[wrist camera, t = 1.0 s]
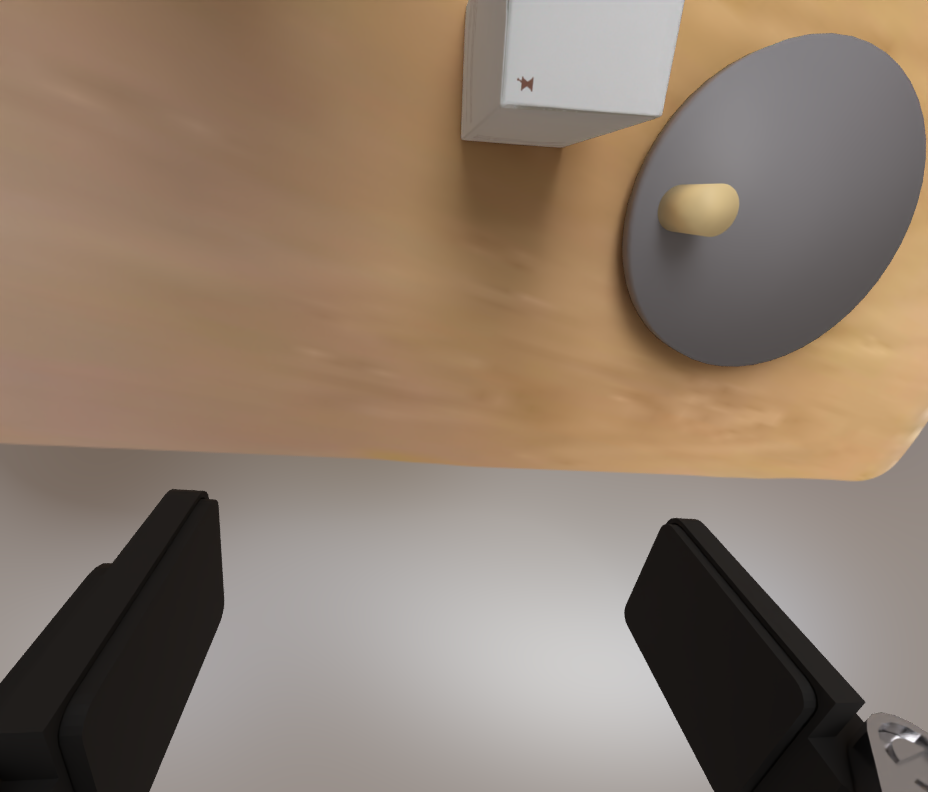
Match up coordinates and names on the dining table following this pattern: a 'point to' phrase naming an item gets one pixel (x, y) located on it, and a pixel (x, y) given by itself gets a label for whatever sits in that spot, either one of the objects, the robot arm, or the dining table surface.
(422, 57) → the dining table surface
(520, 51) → the supplement box
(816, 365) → the dining table surface
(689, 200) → the disc
